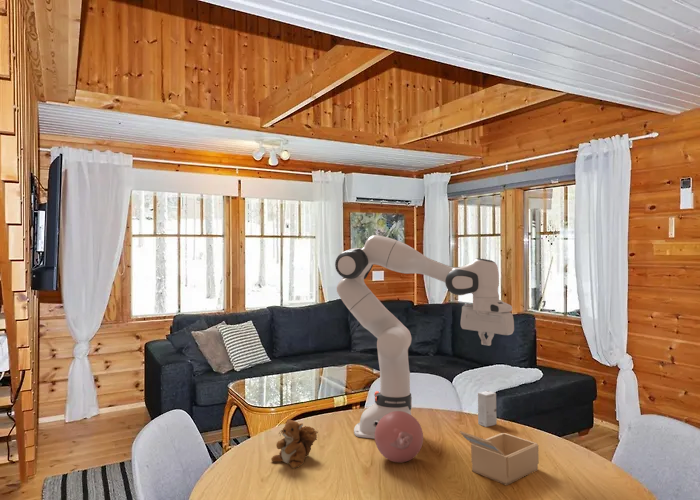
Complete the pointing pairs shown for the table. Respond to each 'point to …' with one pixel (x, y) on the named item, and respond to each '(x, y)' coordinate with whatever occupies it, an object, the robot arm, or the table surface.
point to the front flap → (482, 443)
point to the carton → (506, 458)
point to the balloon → (398, 436)
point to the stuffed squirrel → (295, 443)
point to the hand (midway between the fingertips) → (486, 344)
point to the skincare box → (487, 408)
